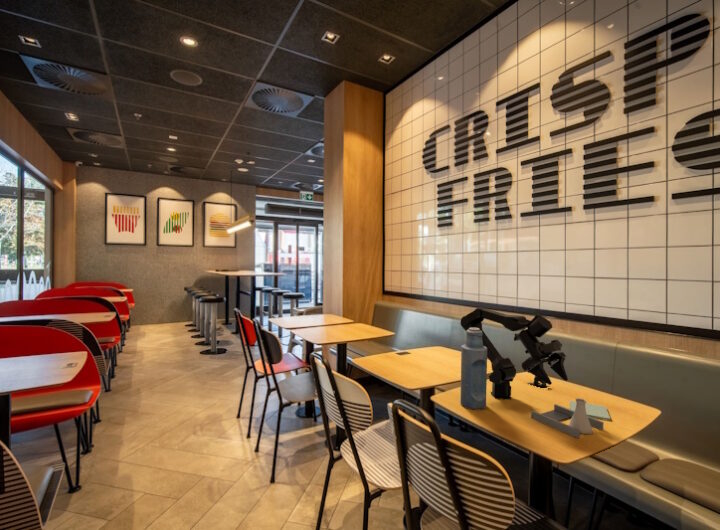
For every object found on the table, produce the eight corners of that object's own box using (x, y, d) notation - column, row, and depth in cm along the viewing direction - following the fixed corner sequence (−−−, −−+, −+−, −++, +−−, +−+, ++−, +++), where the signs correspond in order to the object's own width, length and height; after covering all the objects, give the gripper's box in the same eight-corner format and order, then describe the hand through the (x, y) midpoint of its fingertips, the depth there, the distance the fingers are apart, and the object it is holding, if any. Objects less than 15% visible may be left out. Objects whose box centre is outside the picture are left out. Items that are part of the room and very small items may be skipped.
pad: (571, 413, 135) (571, 411, 135) (569, 402, 146) (569, 400, 146) (610, 420, 130) (610, 418, 130) (605, 408, 140) (605, 406, 140)
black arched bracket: (558, 390, 162) (558, 379, 162) (548, 393, 158) (548, 382, 158) (532, 381, 172) (532, 372, 172) (522, 384, 169) (522, 374, 169)
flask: (597, 436, 118) (597, 405, 118) (572, 433, 120) (573, 403, 120) (587, 426, 125) (588, 397, 125) (564, 423, 127) (565, 395, 127)
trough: (530, 417, 131) (531, 410, 131) (555, 410, 138) (555, 404, 138) (578, 438, 116) (578, 430, 116) (603, 429, 123) (603, 422, 123)
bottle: (478, 399, 148) (479, 325, 148) (491, 409, 138) (492, 330, 138) (456, 400, 146) (457, 326, 146) (467, 411, 137) (468, 330, 136)
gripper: (529, 334, 129) (558, 374, 120) (562, 330, 138) (591, 367, 129) (510, 351, 137) (536, 390, 127) (542, 346, 146) (568, 382, 136)
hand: (559, 382), depth 130 cm, fingers open, 9 cm apart
